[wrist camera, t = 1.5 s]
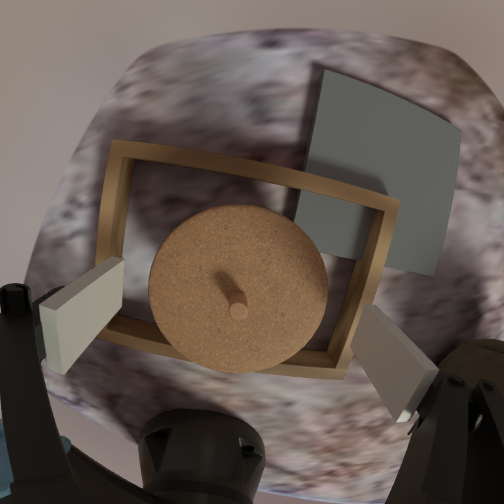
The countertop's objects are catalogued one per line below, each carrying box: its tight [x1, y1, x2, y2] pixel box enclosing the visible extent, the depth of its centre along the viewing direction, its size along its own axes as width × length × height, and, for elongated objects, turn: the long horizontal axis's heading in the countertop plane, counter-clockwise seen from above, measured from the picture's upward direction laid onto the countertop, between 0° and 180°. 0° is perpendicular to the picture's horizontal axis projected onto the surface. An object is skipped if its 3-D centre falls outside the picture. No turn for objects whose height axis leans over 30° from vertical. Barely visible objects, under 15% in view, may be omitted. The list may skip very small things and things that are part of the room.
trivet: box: [291, 69, 461, 277], centre depth 22 cm, size 15×15×1 cm
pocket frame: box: [95, 139, 400, 380], centre depth 23 cm, size 16×22×3 cm
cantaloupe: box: [437, 339, 504, 429], centre depth 21 cm, size 14×14×15 cm
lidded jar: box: [148, 204, 328, 373], centre depth 20 cm, size 11×11×9 cm
